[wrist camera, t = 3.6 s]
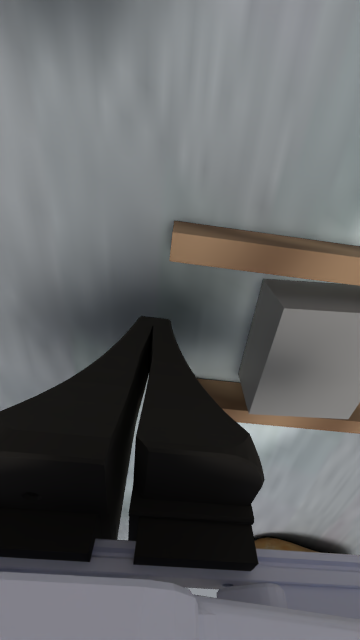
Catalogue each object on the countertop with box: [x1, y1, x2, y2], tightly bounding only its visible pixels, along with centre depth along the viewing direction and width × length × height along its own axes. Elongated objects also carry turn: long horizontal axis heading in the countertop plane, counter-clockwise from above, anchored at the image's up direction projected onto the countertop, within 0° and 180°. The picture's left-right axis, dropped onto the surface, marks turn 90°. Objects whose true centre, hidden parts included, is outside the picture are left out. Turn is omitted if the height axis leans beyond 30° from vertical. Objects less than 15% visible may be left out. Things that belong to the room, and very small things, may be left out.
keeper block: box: [238, 279, 360, 419], centre depth 12 cm, size 5×6×3 cm
